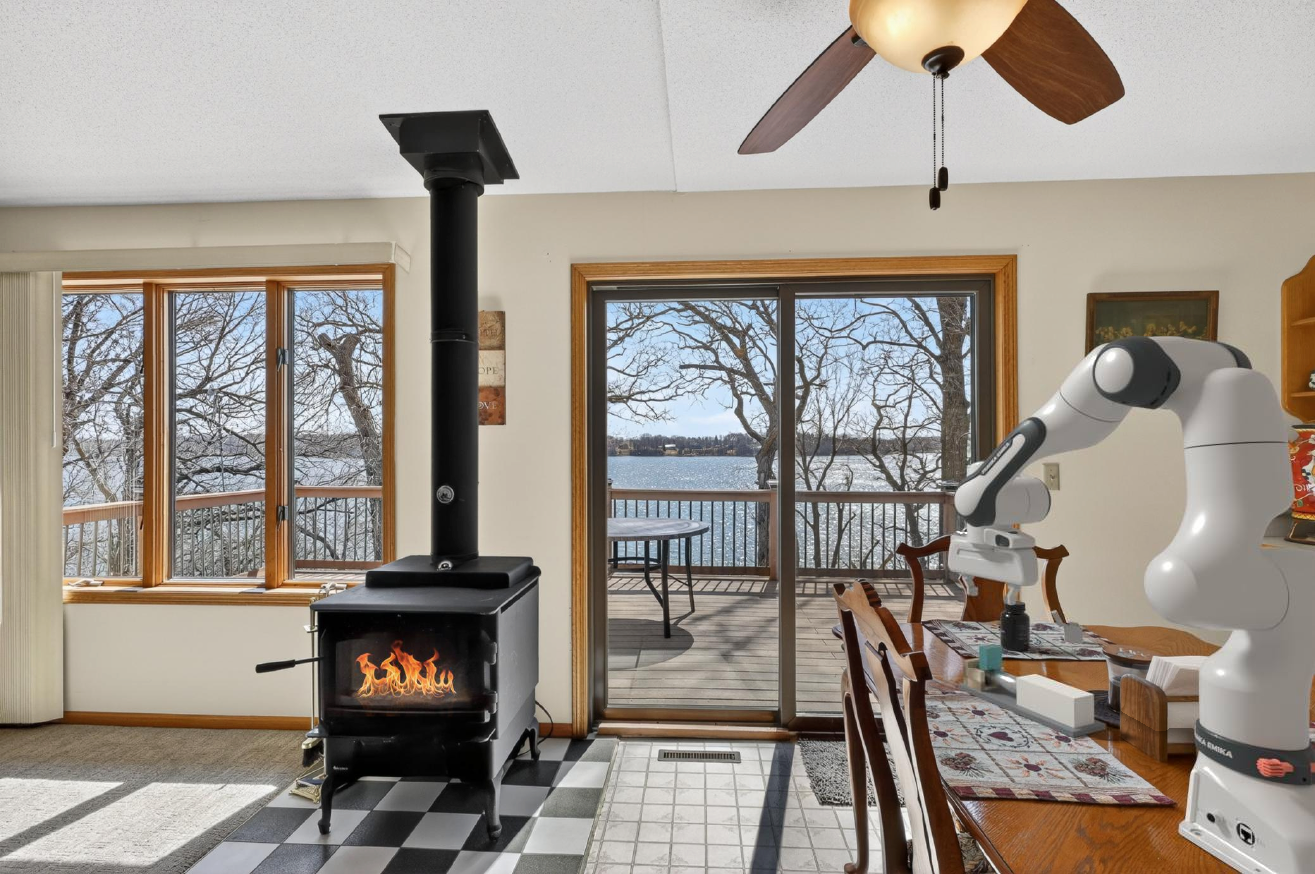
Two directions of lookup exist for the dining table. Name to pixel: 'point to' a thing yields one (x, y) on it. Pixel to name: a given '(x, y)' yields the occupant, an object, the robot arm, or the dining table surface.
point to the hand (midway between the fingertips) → (990, 599)
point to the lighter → (1069, 629)
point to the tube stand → (1046, 704)
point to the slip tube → (995, 668)
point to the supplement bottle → (1015, 628)
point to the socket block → (976, 675)
